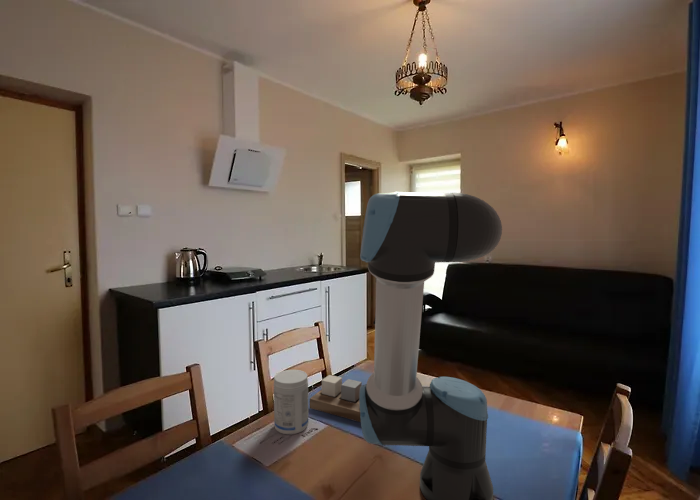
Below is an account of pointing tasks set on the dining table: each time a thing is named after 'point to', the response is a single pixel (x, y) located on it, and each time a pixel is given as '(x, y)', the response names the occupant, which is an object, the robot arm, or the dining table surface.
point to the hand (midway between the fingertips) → (386, 339)
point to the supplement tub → (290, 401)
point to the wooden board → (336, 406)
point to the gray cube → (350, 390)
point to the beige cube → (331, 385)
